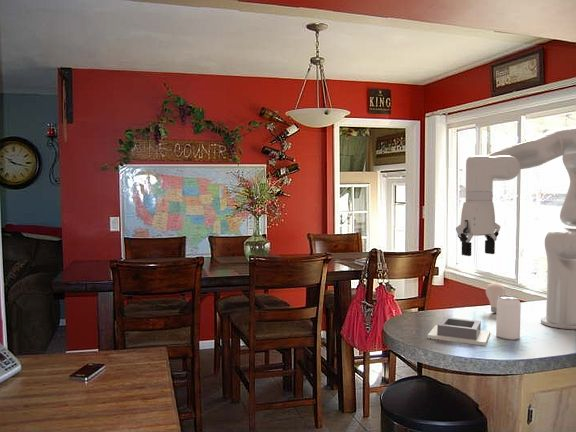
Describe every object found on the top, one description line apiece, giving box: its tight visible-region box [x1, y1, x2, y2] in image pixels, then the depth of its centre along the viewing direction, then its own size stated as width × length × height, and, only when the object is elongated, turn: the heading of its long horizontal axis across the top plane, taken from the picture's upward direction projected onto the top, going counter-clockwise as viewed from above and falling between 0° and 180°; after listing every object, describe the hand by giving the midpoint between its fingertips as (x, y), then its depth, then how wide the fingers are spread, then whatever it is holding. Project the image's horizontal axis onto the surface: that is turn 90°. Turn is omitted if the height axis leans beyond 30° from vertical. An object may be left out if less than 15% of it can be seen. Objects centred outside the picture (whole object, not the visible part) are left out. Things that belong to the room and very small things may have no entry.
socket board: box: [427, 316, 491, 347], centre depth 148 cm, size 16×13×4 cm
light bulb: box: [485, 282, 506, 314], centre depth 178 cm, size 7×7×11 cm
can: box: [495, 294, 522, 341], centre depth 147 cm, size 6×6×12 cm
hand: (478, 254), depth 149 cm, fingers open, 9 cm apart
